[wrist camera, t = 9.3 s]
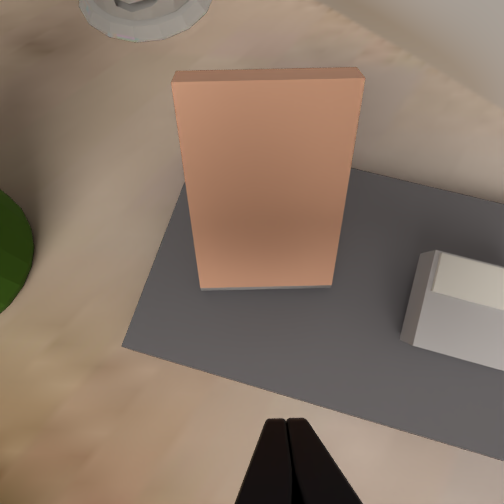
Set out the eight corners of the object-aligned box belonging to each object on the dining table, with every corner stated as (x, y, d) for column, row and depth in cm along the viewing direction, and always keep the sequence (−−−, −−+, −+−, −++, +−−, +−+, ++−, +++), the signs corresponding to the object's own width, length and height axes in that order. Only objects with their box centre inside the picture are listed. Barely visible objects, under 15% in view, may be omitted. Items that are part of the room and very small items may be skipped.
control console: (760, 537, 17) (883, 573, 14) (133, 350, 20) (109, 342, 16) (727, 279, 21) (817, 258, 17) (207, 153, 24) (200, 115, 20)
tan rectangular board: (330, 293, 18) (365, 78, 12) (201, 296, 18) (171, 82, 12) (326, 275, 19) (356, 67, 13) (203, 278, 19) (176, 70, 13)
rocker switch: (514, 371, 17) (544, 382, 15) (399, 339, 18) (414, 346, 16) (533, 282, 17) (566, 281, 15) (420, 253, 18) (437, 249, 16)
